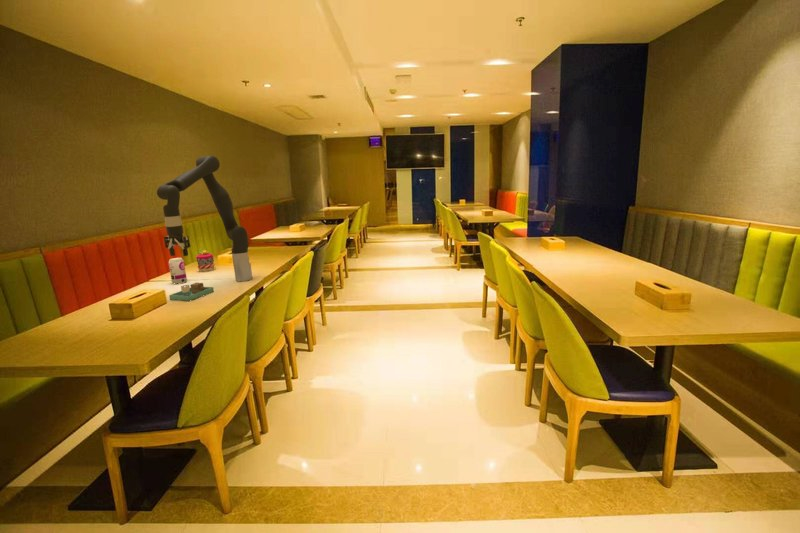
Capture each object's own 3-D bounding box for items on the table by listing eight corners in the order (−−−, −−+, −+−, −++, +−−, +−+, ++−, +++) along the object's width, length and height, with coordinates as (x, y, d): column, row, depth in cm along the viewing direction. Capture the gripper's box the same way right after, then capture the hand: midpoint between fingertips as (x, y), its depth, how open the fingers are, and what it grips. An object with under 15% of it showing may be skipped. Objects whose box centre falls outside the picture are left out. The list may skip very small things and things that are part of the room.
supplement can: (189, 280, 255) (185, 257, 251) (181, 284, 247) (177, 260, 243) (177, 280, 255) (173, 257, 252) (169, 284, 247) (164, 260, 244)
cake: (218, 269, 282) (215, 248, 279) (204, 272, 274) (200, 251, 270) (209, 268, 288) (206, 247, 284) (195, 271, 279) (191, 250, 276)
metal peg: (180, 297, 216) (179, 286, 215) (187, 295, 220) (185, 284, 218) (186, 298, 215) (184, 287, 213) (192, 296, 218) (191, 285, 217)
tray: (195, 290, 231) (194, 286, 230) (213, 291, 227) (213, 287, 226) (170, 300, 215) (169, 295, 214) (189, 301, 211) (188, 296, 210)
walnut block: (197, 291, 227) (196, 282, 226) (204, 291, 226) (203, 282, 225) (191, 293, 223) (190, 284, 222) (198, 293, 222) (196, 285, 221)
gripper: (190, 223, 209) (195, 254, 213) (169, 224, 214) (174, 254, 218) (178, 226, 203) (184, 257, 206) (157, 226, 207) (162, 257, 211)
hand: (179, 255), depth 212 cm, fingers open, 8 cm apart
